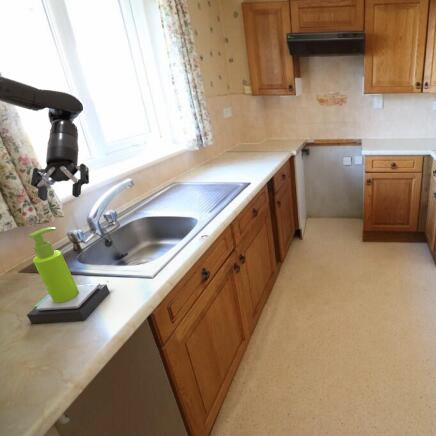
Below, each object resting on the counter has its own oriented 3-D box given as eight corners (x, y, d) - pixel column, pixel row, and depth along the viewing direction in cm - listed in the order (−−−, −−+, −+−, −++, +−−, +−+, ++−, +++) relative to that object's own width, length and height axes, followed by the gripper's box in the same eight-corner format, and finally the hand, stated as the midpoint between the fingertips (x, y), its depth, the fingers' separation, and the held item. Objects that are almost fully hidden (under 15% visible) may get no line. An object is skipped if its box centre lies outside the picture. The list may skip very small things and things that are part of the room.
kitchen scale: (29, 323, 86) (23, 311, 84) (61, 295, 97) (56, 284, 95) (84, 320, 86) (78, 308, 85) (109, 292, 97) (105, 281, 96)
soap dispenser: (87, 290, 92) (59, 227, 83) (60, 305, 86) (28, 239, 78) (75, 285, 94) (47, 224, 86) (48, 299, 89) (15, 235, 80)
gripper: (28, 146, 96) (22, 195, 91) (81, 142, 99) (79, 189, 94) (44, 160, 103) (40, 206, 98) (94, 155, 106) (92, 200, 101)
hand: (59, 197), depth 96 cm, fingers open, 8 cm apart
